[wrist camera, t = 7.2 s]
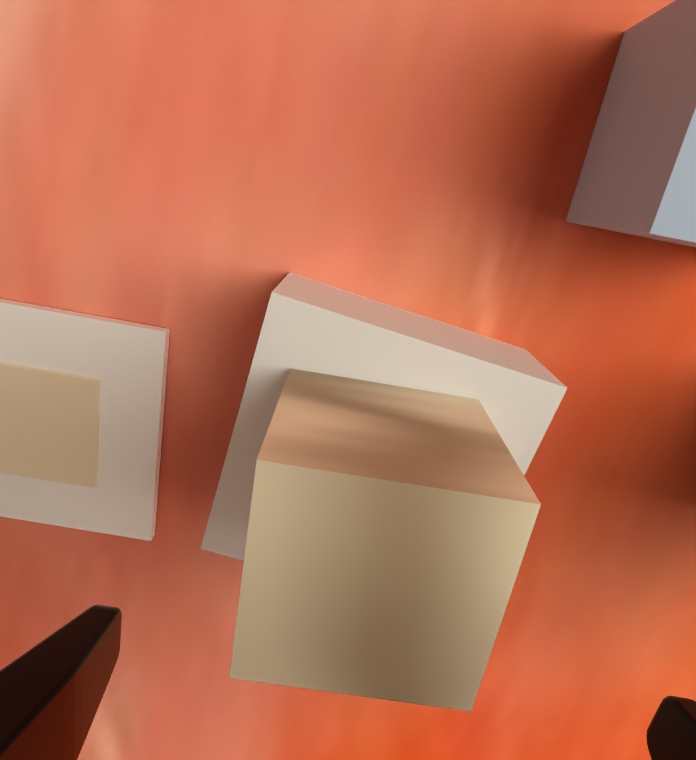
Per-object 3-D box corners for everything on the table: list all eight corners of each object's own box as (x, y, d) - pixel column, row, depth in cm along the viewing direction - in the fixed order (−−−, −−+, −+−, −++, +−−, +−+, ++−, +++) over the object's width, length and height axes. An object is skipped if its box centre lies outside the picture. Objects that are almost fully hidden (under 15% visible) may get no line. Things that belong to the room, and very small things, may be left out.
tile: (-64, 498, 20) (-76, 508, 19) (-82, 283, 17) (-98, 286, 16) (155, 534, 20) (148, 544, 19) (170, 329, 17) (163, 333, 17)
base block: (230, 480, 20) (200, 548, 16) (290, 270, 17) (271, 292, 13) (435, 539, 20) (453, 619, 16) (522, 346, 18) (567, 388, 14)
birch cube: (267, 529, 15) (228, 677, 11) (290, 368, 14) (256, 459, 9) (436, 555, 16) (471, 711, 11) (478, 399, 14) (541, 504, 9)
